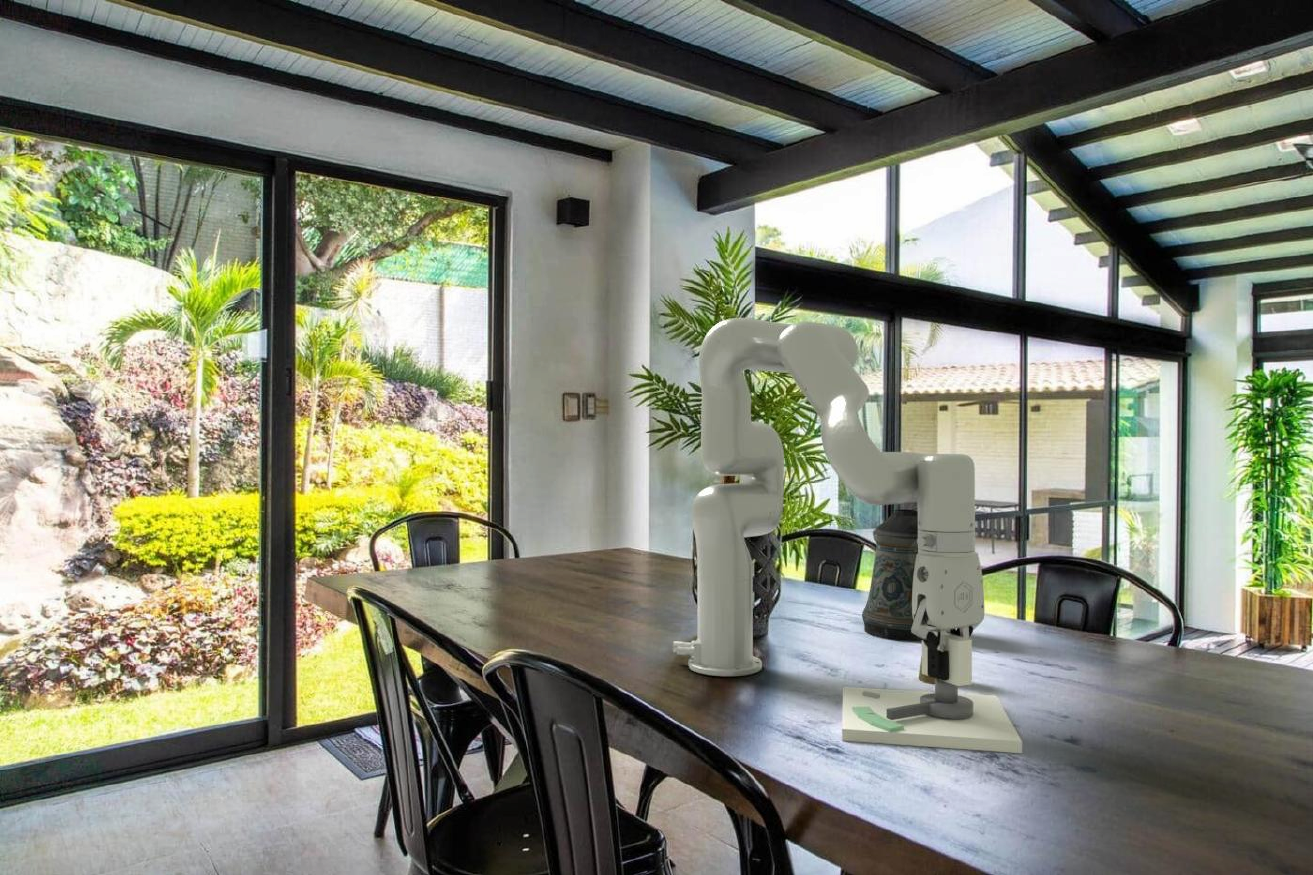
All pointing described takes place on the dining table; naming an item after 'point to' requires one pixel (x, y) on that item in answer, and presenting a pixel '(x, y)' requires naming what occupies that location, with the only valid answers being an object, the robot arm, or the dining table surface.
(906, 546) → the beer stein
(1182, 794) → the dining table surface
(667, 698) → the dining table surface
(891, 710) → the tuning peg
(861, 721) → the dial board
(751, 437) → the robot arm
